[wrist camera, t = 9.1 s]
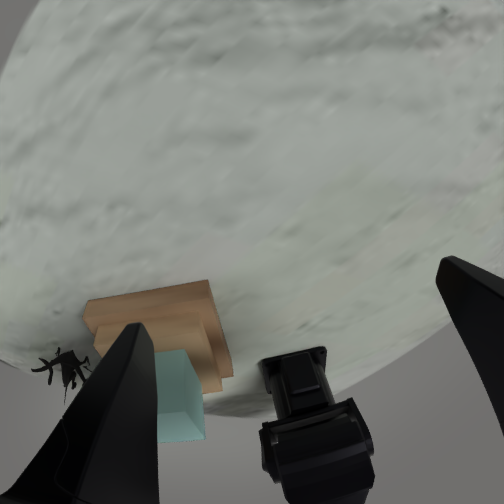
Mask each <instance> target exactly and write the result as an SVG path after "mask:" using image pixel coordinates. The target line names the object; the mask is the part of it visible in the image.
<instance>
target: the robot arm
mask: <svg viewBox="0 0 504 504" xmlns="http://www.w3.org/2000/svg"><path fill="white" fill-rule="evenodd" d="M436 285H437V288H438V290H439V292H440V294H441V296H442V298H443V300H444V303H445V305H446V307H447V309H448V312H449V314H450V316H451V319H452V321H453V323H454V325H455V327H456V329H457V331H458V333H459V335H460V336H461V338H462V340H463V342H464V344H465V346H466V348H467V350H468V352H469V354H470V356H471V358H472V360H473V362H474V364H475V367H476V369H477V371H478V373H479V375H480V377H481V380H482V382H483V384H484V387H485V389H486V391H487V394H488V396H489V398H490V401H491V403H492V406H493V408H494V411H495V413H496V416H497V419H498V421H499V423H500V427H501V430H502V433H503V436H504V279H502V278H500V277H498V276H496V275H494V274H492V273H490V272H488V271H486V270H484V269H482V268H479V267H477V266H475V265H473V264H471V263H469V262H466V261H464V260H462V259H460V258H457V257H455V256H448V257H444V258H442V260H441V261H440V265H439V268H438V272H437V275H436ZM326 356H327V350H326V347H323V346H322V347H318V348H314V349H310V350H305V351H301V352H297V353H292V354H288V355H283V356H279V357H274V358H269V359H265V360H263V361H262V368H263V373H264V379H265V384H266V389H267V393H268V394H272V396H273V401H274V405H275V409H276V414H277V418H278V420H276V421H272V422H264V423H262V427H263V428H262V429H261V430H259V436H260V441H261V451H262V468H263V470H264V471H266V472H267V473H269V474H270V476H271V478H272V479H273V481H274V483H275V484H276V483H281V484H282V488H283V492H284V496H285V499H286V500H287V501H288V503H289V504H364V503H365V500H366V497H367V495H368V492H369V489H371V488H372V487H373V483H374V478H375V474H374V470H373V467H372V463H371V459H370V456H372V455H373V454H374V448H373V442H372V438H371V435H370V432H369V429H368V427H367V425H366V423H365V421H364V419H363V417H362V415H361V413H360V412H359V410H358V408H357V406H356V404H355V402H354V400H353V398H352V397H351V398H348V399H347V400H345V401H342V402H339V403H337V404H336V403H335V400H334V398H333V395H332V392H331V389H330V386H329V384H328V381H327V378H326V375H325V366H326ZM157 414H158V394H157V381H156V369H155V354H154V345H153V341H152V339H151V337H150V336H149V334H148V332H147V330H146V328H145V326H144V324H143V323H142V322H134V323H129V324H127V325H126V326H125V328H124V329H123V330H122V332H121V333H120V334H119V336H118V337H117V338H116V340H115V341H114V343H113V344H112V345H111V347H110V348H109V349H108V351H107V352H106V354H105V355H104V356H103V358H102V359H101V361H100V362H99V363H98V365H97V366H96V368H95V369H94V371H93V372H92V373H91V375H90V376H89V378H88V379H87V381H86V382H85V384H84V385H83V386H82V388H81V389H80V391H79V392H78V394H77V396H76V397H75V398H74V400H73V401H72V403H71V404H70V406H69V407H68V409H67V410H66V412H65V413H64V415H63V416H62V418H63V419H60V421H59V423H58V424H57V425H56V427H55V429H54V430H53V431H52V433H51V434H50V436H49V437H48V439H47V440H46V442H45V443H44V445H43V446H42V447H41V449H40V450H39V451H38V453H37V454H36V456H35V457H34V458H33V459H32V461H31V462H30V463H29V465H28V466H27V468H26V469H25V470H24V471H23V473H22V474H21V475H20V477H19V478H18V479H17V481H16V482H15V483H14V484H13V485H12V487H11V488H9V489H8V490H7V491H6V492H4V493H3V494H1V495H0V504H160V502H159V485H158V454H157V452H158V451H157ZM277 442H278V443H277Z"/></svg>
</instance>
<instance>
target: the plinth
mask: <svg viewBox="0 0 504 504" xmlns="http://www.w3.org/2000/svg"><path fill="white" fill-rule="evenodd" d="M82 319H83V320H84V322H85V323H86V325H87V327H88V328H89V330H90V331H91V333H92V334H93V336H94V337H95V341H94V345H93V346H94V347H95V349H96V350H97V352H98V353H99V354H100V356H101V357H102V358H103V356H104V355H105V354H106V352H107V351H108V349H109V348H110V347H111V345H112V344H113V343H114V341H115V340H116V338H117V337H118V336H119V334H120V333H121V332H122V330H123V329H124V328H125V326H126V325H127V324H129V323H134V322H142V323H143V324H144V326H145V328H146V330H147V332H148V334H149V336H150V337H151V339H152V341H153V345H154V353H157V352H165V351H173V350H180V349H185V351H186V353H187V355H188V357H189V360H190V362H191V364H192V366H193V368H194V370H195V372H196V374H197V376H198V378H199V381H200V383H201V385H202V394H206V393H213V392H220V391H223V390H222V381H221V378H227V377H233V376H234V375H233V368H232V361H231V357H230V354H229V350H228V347H227V344H226V340H225V337H224V334H223V330H222V327H221V324H220V320H219V317H218V313H217V310H216V307H215V303H214V300H213V296H212V293H211V289H210V285H209V282H208V280H203V281H197V282H192V283H186V284H181V285H175V286H170V287H164V288H158V289H153V290H147V291H141V292H136V293H130V294H124V295H118V296H112V297H106V298H101V299H95V300H89V301H88V303H87V305H86V308H85V311H84V314H83V317H82Z"/></svg>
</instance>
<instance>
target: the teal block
mask: <svg viewBox="0 0 504 504" xmlns="http://www.w3.org/2000/svg"><path fill="white" fill-rule="evenodd" d="M154 354H155V369H156V381H157V394H158V414H157V443H166V442H182V441H194V440H205V439H206V436H205V424H204V411H203V397H202V385H201V383H200V381H199V378H198V376H197V374H196V372H195V370H194V368H193V366H192V364H191V362H190V360H189V357H188V355H187V353H186V351H185V349H180V350H173V351H165V352H157V353H154Z"/></svg>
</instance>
